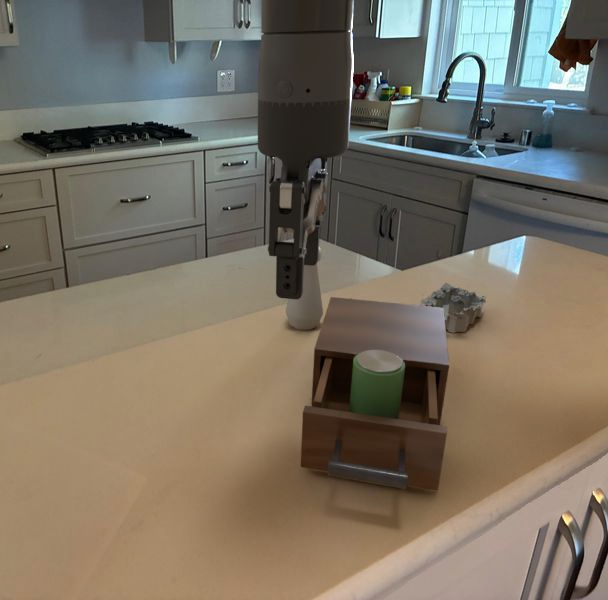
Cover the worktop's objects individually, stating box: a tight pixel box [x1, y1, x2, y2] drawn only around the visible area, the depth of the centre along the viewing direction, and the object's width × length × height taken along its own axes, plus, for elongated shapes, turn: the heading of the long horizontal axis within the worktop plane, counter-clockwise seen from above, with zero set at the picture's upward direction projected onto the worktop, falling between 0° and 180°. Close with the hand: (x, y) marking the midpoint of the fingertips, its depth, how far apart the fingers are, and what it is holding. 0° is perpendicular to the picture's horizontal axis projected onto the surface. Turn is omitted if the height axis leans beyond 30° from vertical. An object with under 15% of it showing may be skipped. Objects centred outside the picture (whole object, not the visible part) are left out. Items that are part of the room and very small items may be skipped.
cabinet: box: [310, 296, 450, 425], centre depth 77 cm, size 16×15×9 cm
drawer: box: [299, 356, 448, 492], centre depth 64 cm, size 19×13×7 cm
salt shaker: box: [285, 246, 324, 331], centre depth 94 cm, size 6×6×13 cm
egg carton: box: [420, 282, 487, 334], centre depth 96 cm, size 11×8×4 cm
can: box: [349, 350, 405, 419], centre depth 65 cm, size 5×5×9 cm
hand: (298, 279), depth 56 cm, fingers open, 8 cm apart
